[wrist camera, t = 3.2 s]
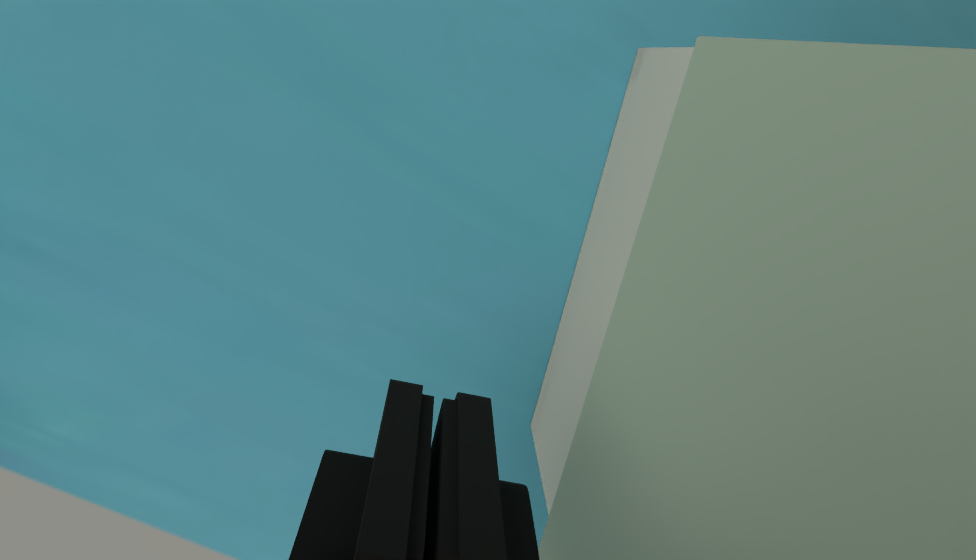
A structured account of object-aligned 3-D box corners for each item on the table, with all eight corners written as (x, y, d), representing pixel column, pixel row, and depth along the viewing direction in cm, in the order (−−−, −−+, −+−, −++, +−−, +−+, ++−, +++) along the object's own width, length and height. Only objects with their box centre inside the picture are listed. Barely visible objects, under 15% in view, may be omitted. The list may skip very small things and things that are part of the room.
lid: (734, 46, 16) (697, 35, 16) (2378, 155, 3) (2338, 112, 3) (559, 578, 21) (529, 578, 21) (922, 1467, 8) (856, 1498, 8)
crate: (638, 47, 24) (735, 46, 16) (980, 133, 26) (1235, 174, 18) (530, 425, 29) (561, 578, 21) (824, 478, 31) (963, 640, 22)
